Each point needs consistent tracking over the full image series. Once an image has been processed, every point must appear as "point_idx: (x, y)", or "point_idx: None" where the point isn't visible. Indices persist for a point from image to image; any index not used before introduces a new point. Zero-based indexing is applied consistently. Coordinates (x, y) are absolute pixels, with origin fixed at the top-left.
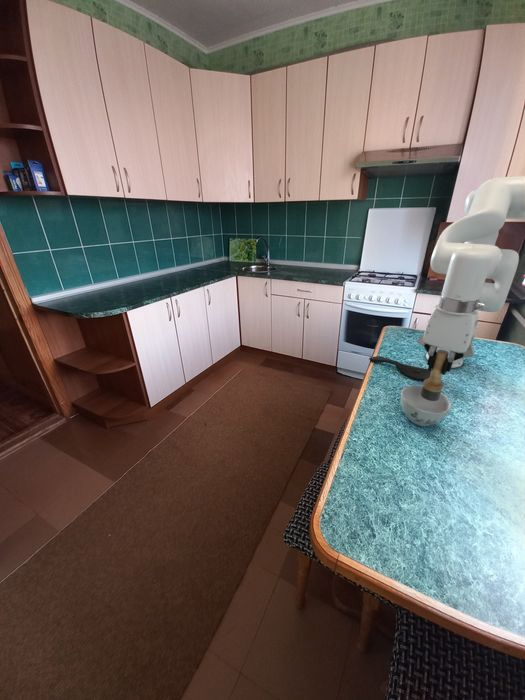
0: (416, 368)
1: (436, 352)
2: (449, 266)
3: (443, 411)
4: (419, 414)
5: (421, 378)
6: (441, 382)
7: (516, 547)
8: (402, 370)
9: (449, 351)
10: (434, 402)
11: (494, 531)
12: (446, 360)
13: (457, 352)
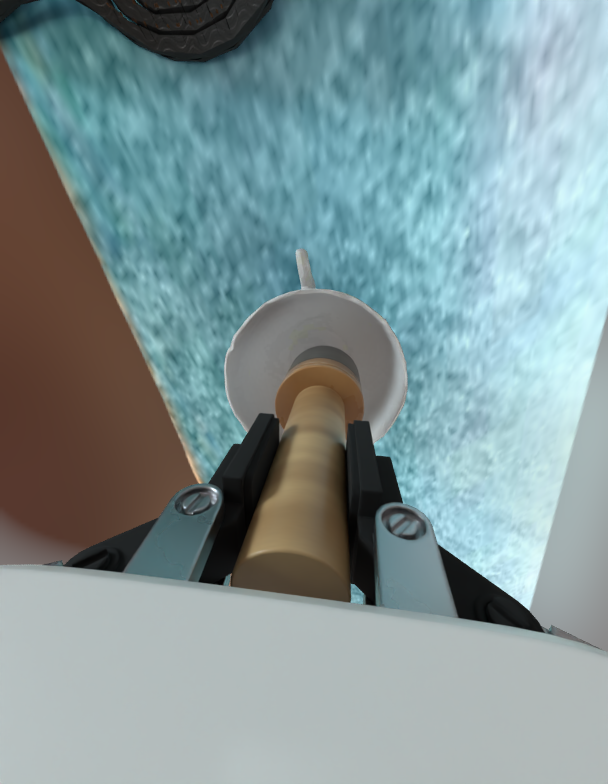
0: None
1: (233, 526)
2: None
3: (381, 343)
4: None
5: (228, 43)
6: (350, 383)
7: (534, 575)
8: (124, 24)
9: None
10: (341, 304)
11: (503, 567)
12: (351, 557)
13: (447, 585)
